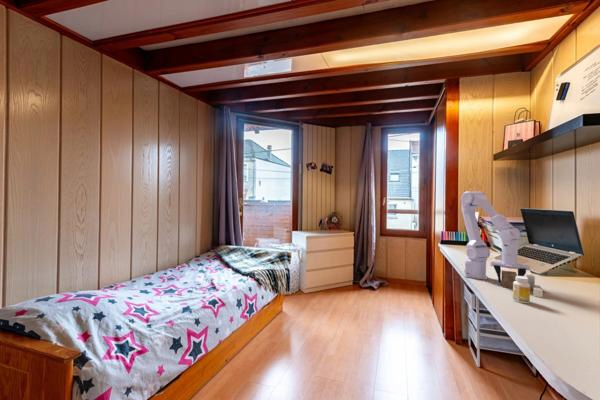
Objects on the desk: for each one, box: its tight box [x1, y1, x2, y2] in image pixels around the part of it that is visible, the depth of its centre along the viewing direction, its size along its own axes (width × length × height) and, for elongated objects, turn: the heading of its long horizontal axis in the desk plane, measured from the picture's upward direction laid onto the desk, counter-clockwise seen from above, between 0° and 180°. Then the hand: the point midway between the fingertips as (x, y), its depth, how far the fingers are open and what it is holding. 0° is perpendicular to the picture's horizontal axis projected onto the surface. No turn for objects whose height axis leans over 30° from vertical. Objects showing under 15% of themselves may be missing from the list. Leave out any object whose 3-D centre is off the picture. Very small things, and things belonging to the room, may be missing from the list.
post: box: [525, 274, 545, 294], centre depth 128 cm, size 8×8×6 cm
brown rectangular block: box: [500, 269, 518, 290], centre depth 130 cm, size 5×5×7 cm
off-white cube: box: [532, 287, 544, 298], centre depth 118 cm, size 3×3×3 cm
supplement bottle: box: [512, 275, 531, 304], centre depth 113 cm, size 5×5×10 cm
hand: (508, 283), depth 130 cm, fingers open, 6 cm apart
